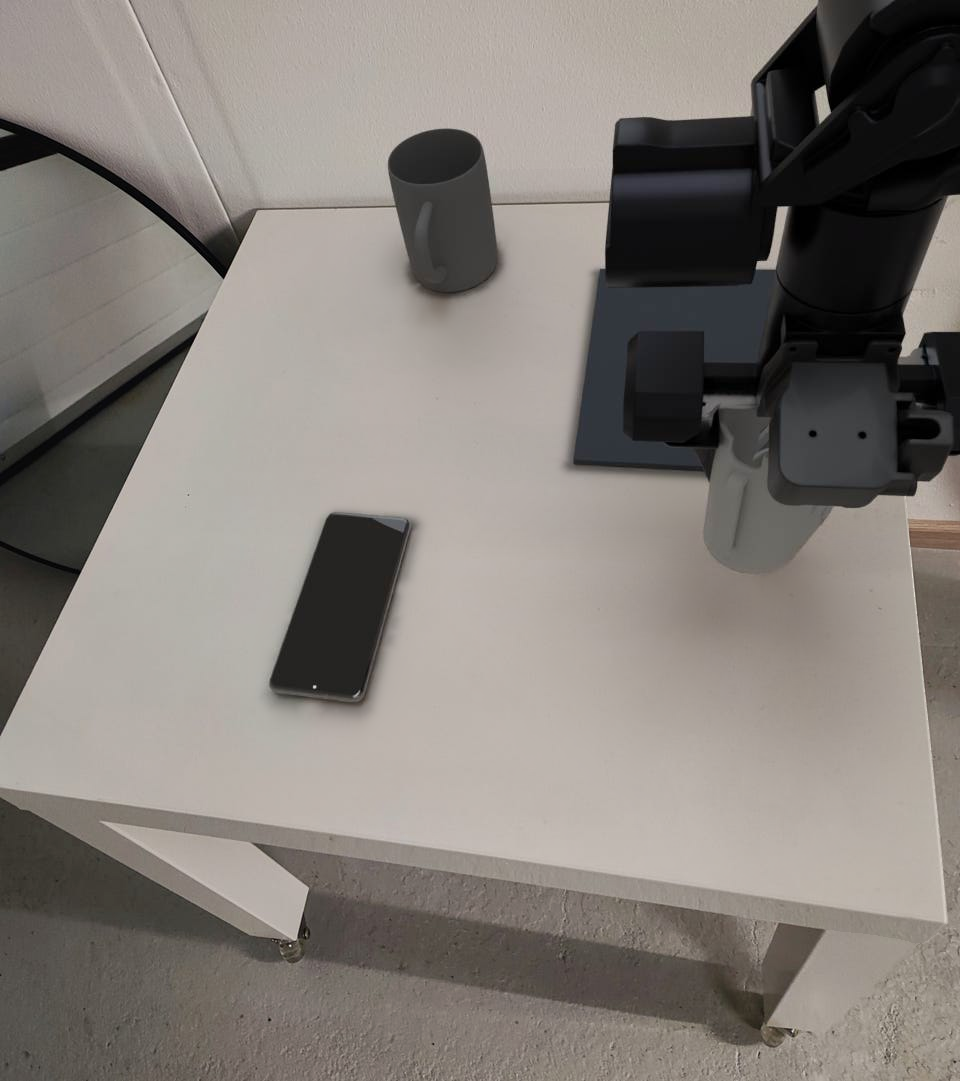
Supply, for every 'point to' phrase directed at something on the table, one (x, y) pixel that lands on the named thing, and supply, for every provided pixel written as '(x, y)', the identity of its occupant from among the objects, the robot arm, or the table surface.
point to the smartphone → (341, 608)
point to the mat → (624, 311)
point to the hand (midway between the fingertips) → (782, 485)
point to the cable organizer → (751, 502)
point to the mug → (444, 208)
